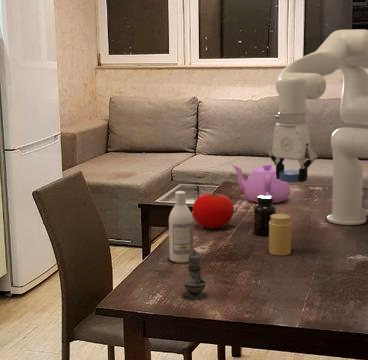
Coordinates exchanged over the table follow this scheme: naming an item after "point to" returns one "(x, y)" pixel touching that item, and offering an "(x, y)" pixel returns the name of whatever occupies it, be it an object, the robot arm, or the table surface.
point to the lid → (289, 175)
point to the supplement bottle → (263, 215)
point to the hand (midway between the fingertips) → (291, 179)
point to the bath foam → (180, 230)
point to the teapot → (263, 184)
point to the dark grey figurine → (194, 278)
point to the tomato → (213, 210)
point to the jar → (280, 234)
